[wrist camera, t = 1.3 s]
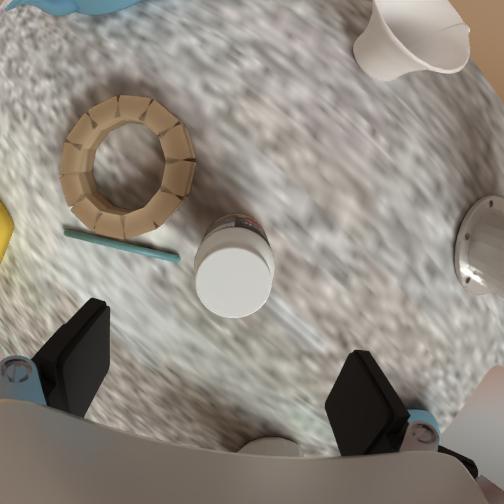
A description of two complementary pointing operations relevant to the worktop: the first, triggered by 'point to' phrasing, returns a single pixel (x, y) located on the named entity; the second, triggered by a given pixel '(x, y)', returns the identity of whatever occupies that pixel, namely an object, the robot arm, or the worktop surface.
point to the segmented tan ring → (82, 159)
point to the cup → (412, 39)
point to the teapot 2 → (75, 6)
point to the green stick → (122, 246)
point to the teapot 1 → (5, 229)
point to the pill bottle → (234, 267)
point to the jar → (272, 447)
